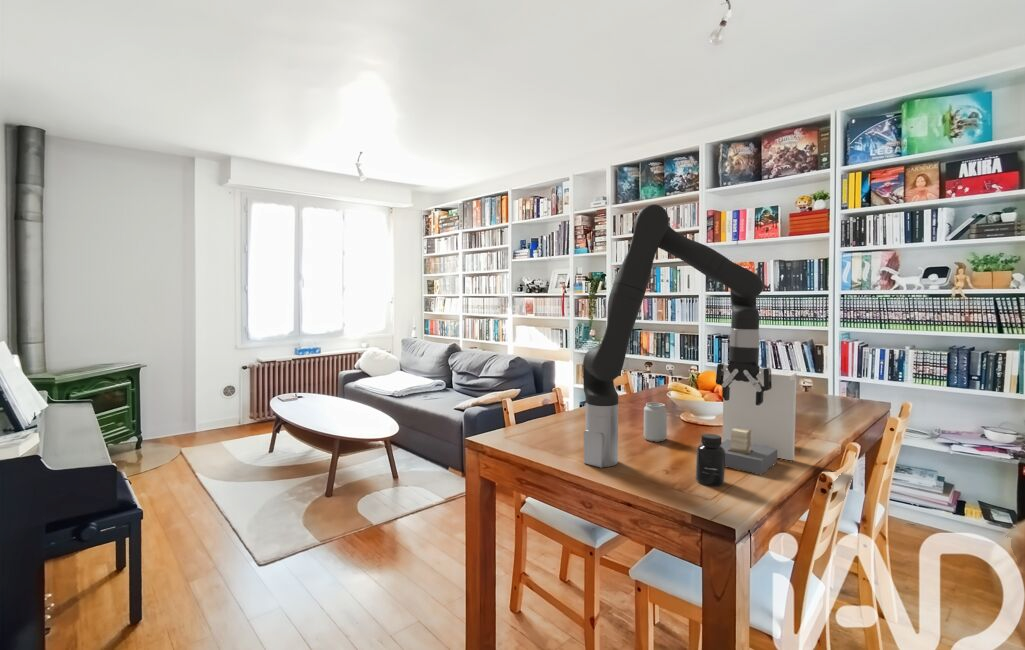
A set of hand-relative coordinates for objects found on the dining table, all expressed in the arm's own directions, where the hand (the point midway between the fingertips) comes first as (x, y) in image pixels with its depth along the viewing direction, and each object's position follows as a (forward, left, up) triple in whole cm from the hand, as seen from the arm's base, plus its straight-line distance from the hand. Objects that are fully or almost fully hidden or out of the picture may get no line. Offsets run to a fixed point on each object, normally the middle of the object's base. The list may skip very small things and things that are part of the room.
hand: (742, 402), depth 140 cm
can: (+7, +30, -18) cm, 36 cm away
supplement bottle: (-19, +1, -18) cm, 26 cm away
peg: (0, 0, -18) cm, 18 cm away
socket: (+2, 0, -18) cm, 18 cm away
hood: (+11, 0, -18) cm, 21 cm away
